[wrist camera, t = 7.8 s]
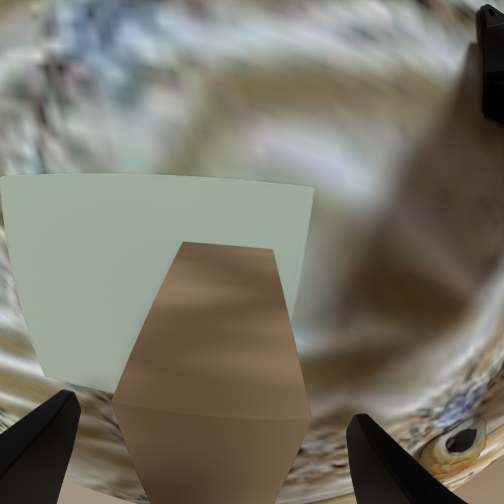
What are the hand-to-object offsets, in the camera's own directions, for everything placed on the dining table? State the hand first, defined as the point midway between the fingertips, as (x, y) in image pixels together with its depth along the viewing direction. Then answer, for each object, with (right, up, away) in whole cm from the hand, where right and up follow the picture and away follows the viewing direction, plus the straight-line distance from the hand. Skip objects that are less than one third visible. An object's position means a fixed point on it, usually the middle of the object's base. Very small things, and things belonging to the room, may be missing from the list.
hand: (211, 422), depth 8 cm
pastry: (+20, -13, +13) cm, 27 cm away
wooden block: (0, +2, +5) cm, 6 cm away
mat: (-4, +3, +5) cm, 7 cm away
